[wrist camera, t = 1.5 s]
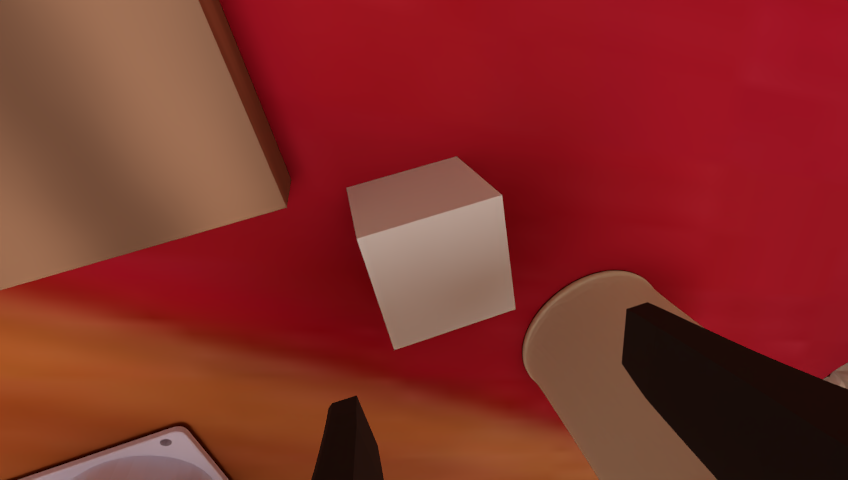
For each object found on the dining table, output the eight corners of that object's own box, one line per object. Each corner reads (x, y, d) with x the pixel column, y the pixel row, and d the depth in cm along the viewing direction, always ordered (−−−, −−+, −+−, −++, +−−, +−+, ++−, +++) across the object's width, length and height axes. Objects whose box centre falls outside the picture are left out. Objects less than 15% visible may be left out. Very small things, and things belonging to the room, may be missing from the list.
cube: (376, 280, 19) (394, 349, 15) (346, 187, 17) (356, 238, 13) (472, 250, 20) (515, 309, 16) (455, 155, 18) (502, 195, 13)
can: (512, 397, 26) (643, 639, 16) (534, 278, 22) (734, 500, 11) (632, 375, 28) (819, 576, 18) (673, 262, 24) (951, 438, 13)
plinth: (3, 260, 15) (-62, 307, 12) (-331, -115, 10) (-572, -171, 7) (291, 179, 16) (286, 207, 14) (140, -196, 11) (84, -268, 8)
